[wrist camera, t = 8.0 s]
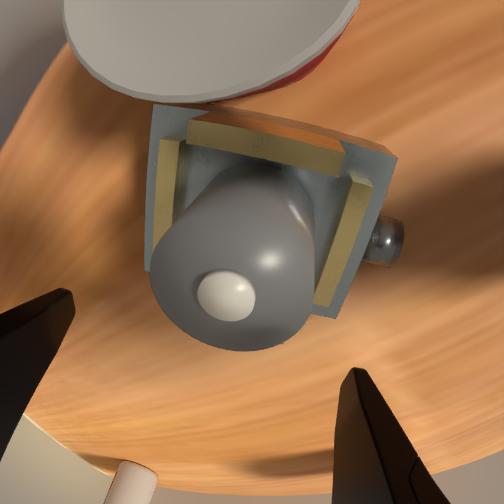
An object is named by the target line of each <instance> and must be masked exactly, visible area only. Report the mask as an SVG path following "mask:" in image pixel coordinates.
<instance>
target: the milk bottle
mask: <svg viewBox="0 0 504 504" xmlns="http://www.w3.org/2000/svg"><path fill="white" fill-rule="evenodd" d="M157 480H158V476H157V474H156V473H154V472H153V471H151V470H150V469H148V468H146V467H144V466H141V465H139V464H136V463H133V462H130V461H122V462H121V463H120V465H119V467H118V470H117V472H116V474H115V477H114V479H113V481H112V484H111V486H110V488H109V491H108V493H107V496H106V498H105V501H104V504H149V503H150V500H151V497H152V494H153V492H154V489H155V486H156V483H157Z"/></svg>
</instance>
